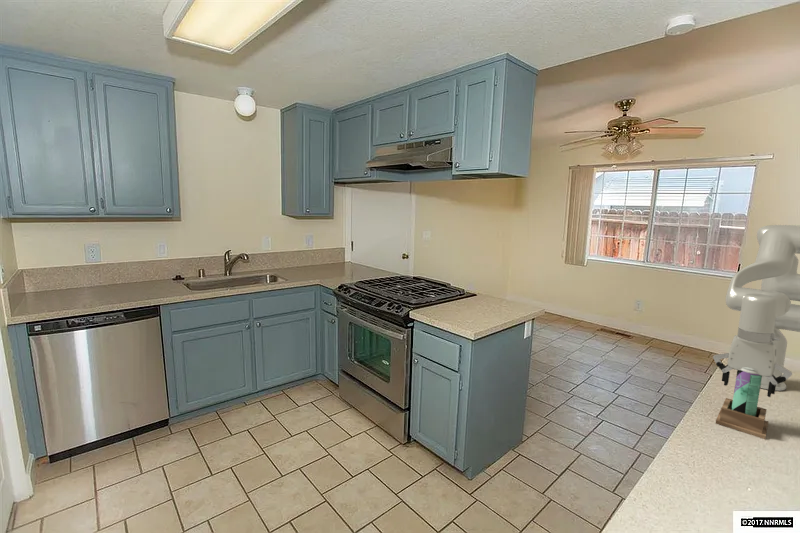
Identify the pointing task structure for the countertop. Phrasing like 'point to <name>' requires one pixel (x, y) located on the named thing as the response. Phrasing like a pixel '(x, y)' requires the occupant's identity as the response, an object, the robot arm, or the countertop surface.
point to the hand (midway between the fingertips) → (746, 389)
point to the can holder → (743, 420)
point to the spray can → (746, 391)
